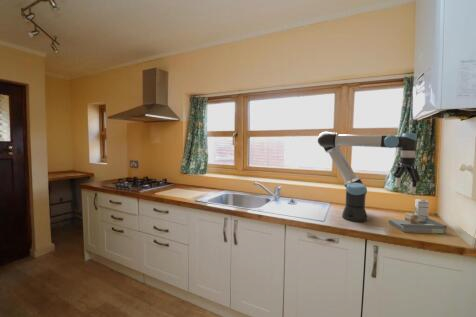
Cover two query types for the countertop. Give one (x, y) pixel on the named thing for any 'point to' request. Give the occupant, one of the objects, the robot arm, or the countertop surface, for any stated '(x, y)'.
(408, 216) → the maple block
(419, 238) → the countertop surface
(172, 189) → the countertop surface
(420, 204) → the syrup box
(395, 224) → the trap board
